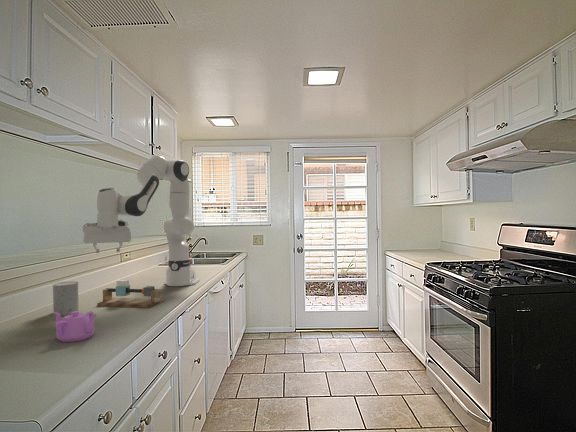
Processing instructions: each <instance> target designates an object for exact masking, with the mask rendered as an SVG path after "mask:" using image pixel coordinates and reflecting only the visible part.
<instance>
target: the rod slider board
mask: <svg viewBox="0 0 576 432" xmlns="http://www.w3.org/2000/svg"><path fill="white" fill-rule="evenodd" d="M155 289H156V288H155ZM163 302H165V301H164V298H160V289H158V288H157V289H156V290H152V291H151V296H150V298H147V297H146V298H145V297H143V298H142V297H141V298H140V297H116V296H115V297H113V292H109V291H108V289H106V288H104V289H102V301H100V302H97V303H96V305H97V307H115V308H117V307H119V308H122V307H124V308H146V307H147V308H149V309H150V308H153V307H155V306H157V305H159V304H161V303H163Z"/></svg>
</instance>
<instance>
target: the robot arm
mask: <svg viewBox="0 0 576 432" xmlns="http://www.w3.org/2000/svg"><path fill="white" fill-rule="evenodd" d="M189 174H190V166H189V164H188V163H187V162H186V161H185V160H183V159H168V160H167V159H166V158H165V157H163V156H161V155H153V156H152V157H150V158H149V159H148V160H146V161H145V163H144V164H143V165H142V166H141V167H140V168H139V169H138V170H137V173H136V176H137V177H136V178H137V180H138V182H139V183H140V185H142V186H143V187H142V188H141V190H140V191H139V192H138V193H136V194H133V195H132V194H131V195H124V194H122V193H120V192H119V191H118V190H117V188H115V187H105V188H101V189H100V190H99V191H98V192H97V197H96V208H97V214H96V215H97V216H96V221H97V222H86V223H85V224H83V225H82V233H84V234H83V243H84V244H92V247H94V250H95V253H96V254H100V248H97V244H105V243H107V244H108V243H112V244H113V243H118V244H119V246H118V247H116V253H120V252H121V248H122V246H123V243H131V241H132V235H131V234H132V233H131V230H130V228H129V227H128V226H129V222H128V221H125V220H123V219H119V216H127V217H128V216H129V217H130V216H133V217H141V216H143V215H144V214H145V213H146V211H147V209H148V205H149V203H150V201H151V199H152V198H153V196H154V194H155V193H156V191H157V189H158V187H159V185H160V181H169V182H170V185H169V202H168V204H169V209H170V212H171V217H169V218H167V219H166V220H165V221H164V223H163V230H164V232H165V235H166V239H167V245H168V258H169V259H168V263H167V264H168V265H167V267H168V268H167V269H166V273H165V274H166V278H165V281H164V283H163V284H164V285H166V286H169V287H182V286H183V287H184V286H192V285H193V286H194V285H196V284H197V283H198V282H200V278H197V276H196V275H197V274H196V271H195V269H194V268H193V267H192V266H191V263H192V258H191V259H190V252H189V248H190V246H189V244H188V242H187V239H186V238H187V237H186V236H189V235H191V234H193V232H194V230H195V223H194V222H193V220H192V216H191V210H190V183H189V182H190V181H189V178H188V176H189Z"/></svg>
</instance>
